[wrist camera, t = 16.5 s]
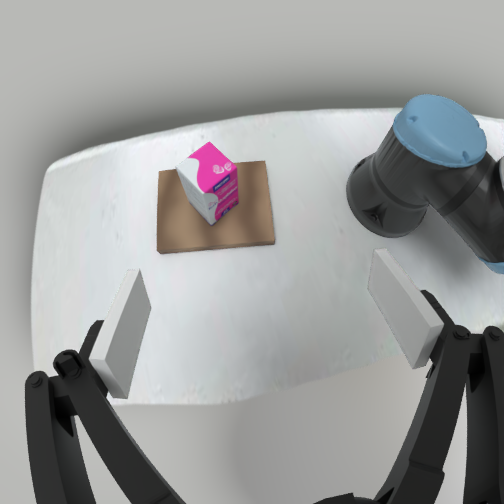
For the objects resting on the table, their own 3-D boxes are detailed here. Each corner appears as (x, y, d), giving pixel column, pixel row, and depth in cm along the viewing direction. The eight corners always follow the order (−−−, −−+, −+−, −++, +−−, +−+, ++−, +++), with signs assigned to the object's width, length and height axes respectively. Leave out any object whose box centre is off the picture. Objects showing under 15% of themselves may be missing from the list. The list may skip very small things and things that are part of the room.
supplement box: (212, 228, 47) (201, 195, 36) (188, 202, 48) (172, 165, 37) (240, 204, 48) (238, 166, 37) (216, 180, 49) (207, 138, 38)
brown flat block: (264, 166, 52) (265, 160, 50) (273, 244, 48) (274, 240, 46) (161, 176, 52) (158, 171, 50) (160, 254, 48) (156, 250, 46)
